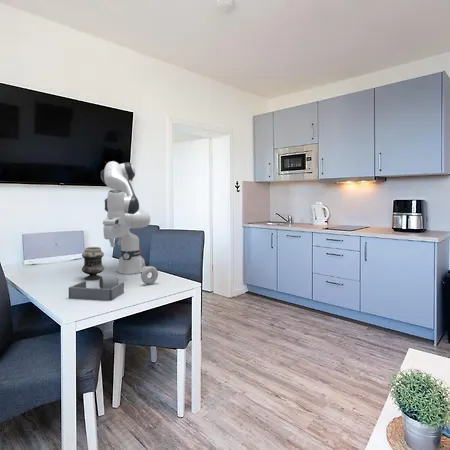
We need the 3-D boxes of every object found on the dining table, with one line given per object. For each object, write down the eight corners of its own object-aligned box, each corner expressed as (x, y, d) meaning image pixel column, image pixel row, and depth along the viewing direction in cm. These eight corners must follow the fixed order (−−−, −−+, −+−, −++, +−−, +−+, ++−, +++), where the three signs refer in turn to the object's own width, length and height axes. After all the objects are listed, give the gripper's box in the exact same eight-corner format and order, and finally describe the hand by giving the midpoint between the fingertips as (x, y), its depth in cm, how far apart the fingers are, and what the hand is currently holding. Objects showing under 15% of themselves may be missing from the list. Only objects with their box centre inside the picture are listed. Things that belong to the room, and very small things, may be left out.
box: (84, 290, 164) (84, 280, 164) (123, 292, 161) (123, 282, 161) (68, 298, 151) (68, 287, 151) (111, 300, 148) (111, 289, 148)
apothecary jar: (96, 281, 183) (95, 249, 182) (77, 280, 185) (76, 248, 184) (108, 276, 195) (107, 246, 193) (90, 275, 197) (89, 246, 196)
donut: (142, 286, 173) (142, 267, 173) (139, 285, 176) (139, 266, 175) (159, 283, 180) (159, 265, 179) (156, 282, 183) (156, 264, 182)
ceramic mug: (119, 290, 165) (119, 275, 165) (102, 292, 161) (102, 277, 160) (113, 286, 174) (113, 271, 174) (97, 288, 169) (97, 273, 169)
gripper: (119, 219, 185) (119, 243, 186) (100, 221, 164) (101, 248, 165) (129, 219, 184) (130, 243, 185) (112, 221, 164) (113, 248, 165)
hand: (116, 245), depth 175 cm, fingers open, 7 cm apart
